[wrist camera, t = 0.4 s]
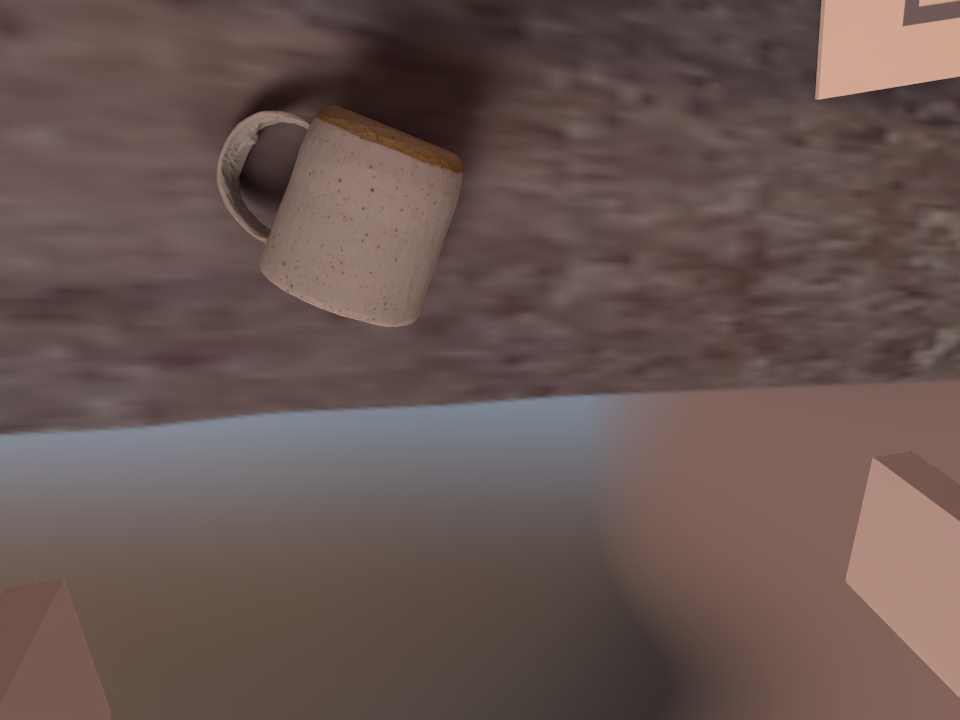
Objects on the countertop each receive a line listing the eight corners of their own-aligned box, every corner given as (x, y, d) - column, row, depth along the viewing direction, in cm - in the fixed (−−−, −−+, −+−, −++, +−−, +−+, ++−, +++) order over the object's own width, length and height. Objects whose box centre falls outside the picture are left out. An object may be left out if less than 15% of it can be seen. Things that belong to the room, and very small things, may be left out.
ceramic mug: (460, 147, 35) (489, 168, 28) (407, 296, 38) (422, 348, 31) (246, 65, 32) (220, 66, 25) (204, 232, 35) (170, 275, 28)
